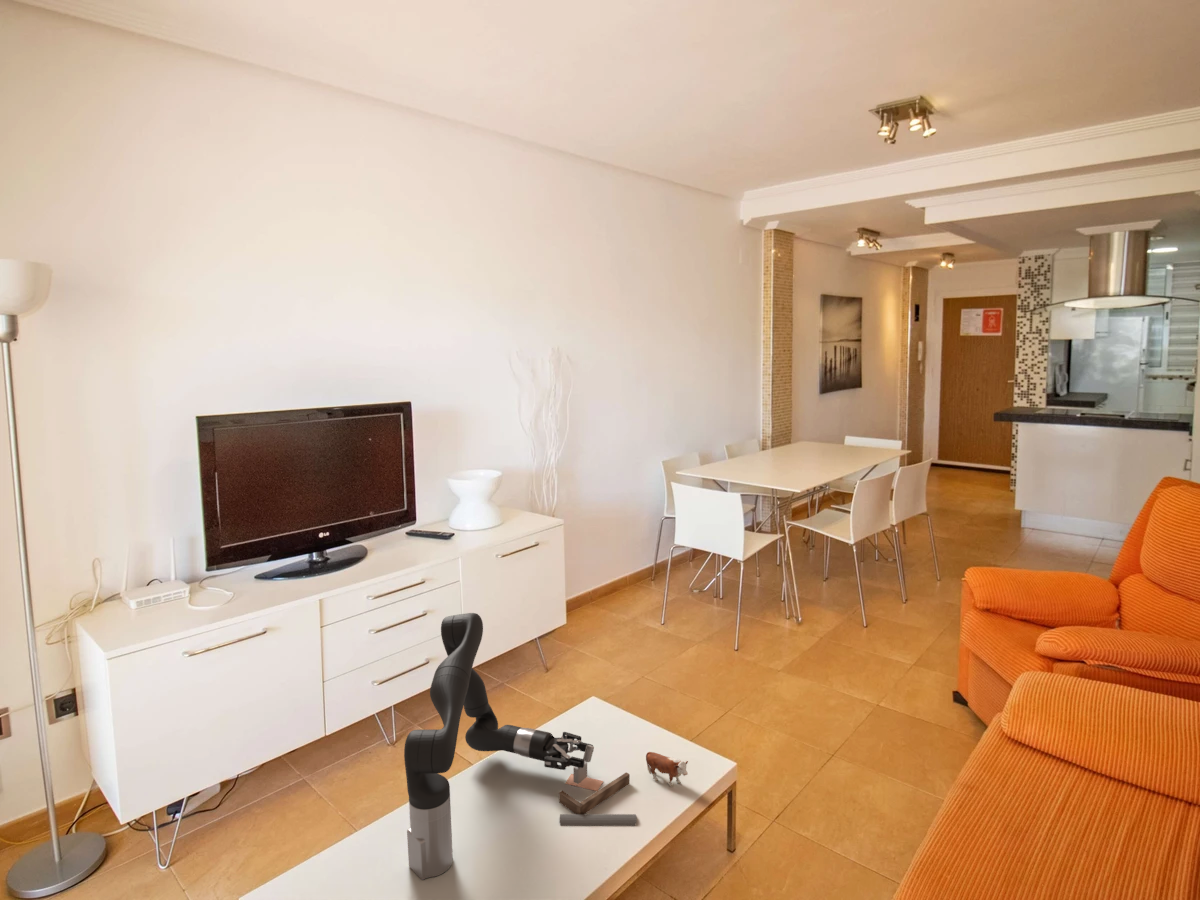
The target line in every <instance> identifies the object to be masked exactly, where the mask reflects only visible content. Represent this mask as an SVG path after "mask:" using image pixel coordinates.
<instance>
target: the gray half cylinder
mask: <svg viewBox="0 0 1200 900" xmlns="http://www.w3.org/2000/svg"><path fill="white" fill-rule="evenodd" d="M559 824H560V825H559V826H560V827H635V826H636V824H637V815H636V814H635V813H634V814H628V813H627V814H625V813H621V814H620V813H618V814H617V813H616V814H613V813H612V814H611V813H610V814H605V813H604V814H602V813H601V814H599V813H597V814H596V813H593V814H592V813H589V814H587V813H586V814H574V813H569V814H568V813H564V814H563V813H562V814H559Z"/></svg>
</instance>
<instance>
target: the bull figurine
mask: <svg viewBox="0 0 1200 900" xmlns="http://www.w3.org/2000/svg"><path fill="white" fill-rule="evenodd" d="M645 761H646V765H647V766H646V767H647V771H648V773H649V775H652V779H653V780H654V782H658V781H659V779H658V777H657V775H656V774H657V772H656V769H657V771H658V772H660V773H661V774H667V775H668V777H669V781H668V783H667V784H668V785H669V787H673V786H674V784H673V779H674V778H676V780H675V782H676V784H678V785H679V784H681V780H680V778H679V777H680V776H682V775H683V776H684V777H685V776H687V775H688V771H687V764H688V762H689V760H685V761H682V760H680V759H679V758H674V757H669V756H666V755H663V754H661V753H657V752H653V751H648V752H647V753H646V755H645Z"/></svg>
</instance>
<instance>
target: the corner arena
mask: <svg viewBox="0 0 1200 900" xmlns="http://www.w3.org/2000/svg"><path fill="white" fill-rule="evenodd" d="M629 785H630V773H628V772H624V773H623V774H621V775H620V776H619V777H616V778H615V779H613V780H612V781H611V782H609V783H608V784H606V785H604V786H603V787H600V788H599V790H598V791H594V793H592V794H590V795H589V796H588V797H587V798H584V799H583V800H582V801H578V800H577V799H576V798H574V797H573V796H571V795H569V794H568V793H567V792H565V790H561V791H559V793H558V803H559V804H560V805H562V806H563V807H565V808H566V809H567V810H569V811H570V812H571V813H572V814H587V813H589V812H590V811H592V810H593V809H595V808H596V807H598V806H599V805H601V804H602V803H604V802H605V801H606V800H608V799H609V798H610V797H612V796H614V795H616V794H617V793H619V791H621V790H623V789H625V788H626V787H627V786H629Z"/></svg>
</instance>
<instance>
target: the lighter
mask: <svg viewBox="0 0 1200 900" xmlns="http://www.w3.org/2000/svg"><path fill="white" fill-rule="evenodd" d="M591 745H592V744H591ZM591 745H587V746H586V749H585V752H583V753H584V754H583V756H582V757H583V758H582V759H584V767H583V768H580V767H575V766H573V774H574V782H575V783H577V784H579V783H580V782H581V781H583V780H584V779H585V778H586V777H588V763H591V760H592V757H593V753H594V749H595V746H594V745H593V746H591Z"/></svg>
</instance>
